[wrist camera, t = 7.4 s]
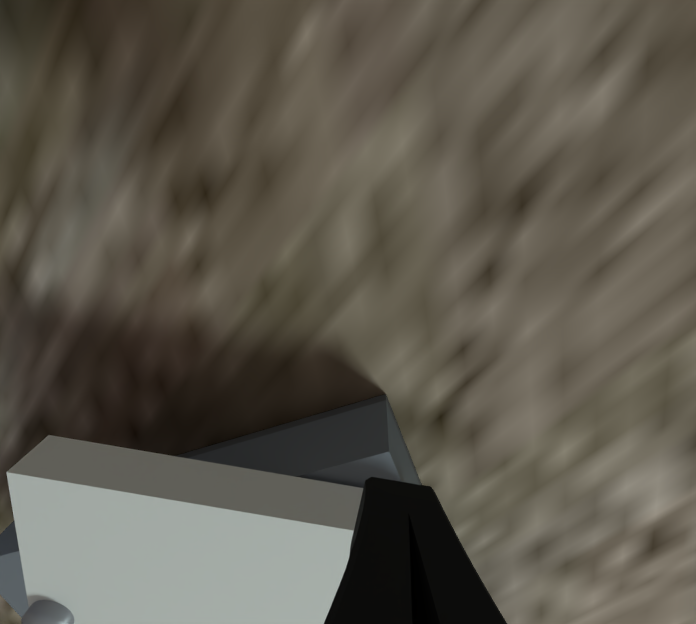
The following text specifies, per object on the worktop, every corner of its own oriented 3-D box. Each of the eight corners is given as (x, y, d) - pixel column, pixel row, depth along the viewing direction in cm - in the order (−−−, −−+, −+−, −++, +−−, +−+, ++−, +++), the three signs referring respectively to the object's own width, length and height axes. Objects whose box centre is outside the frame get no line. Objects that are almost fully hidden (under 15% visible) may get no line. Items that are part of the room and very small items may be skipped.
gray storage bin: (178, 675, 28) (148, 756, 24) (37, 496, 23) (-29, 563, 19) (475, 619, 24) (493, 703, 21) (385, 394, 19) (389, 451, 16)
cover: (382, 632, 19) (384, 696, 17) (65, 579, 19) (24, 637, 17) (422, 498, 16) (430, 554, 14) (49, 435, 16) (-4, 480, 14)
